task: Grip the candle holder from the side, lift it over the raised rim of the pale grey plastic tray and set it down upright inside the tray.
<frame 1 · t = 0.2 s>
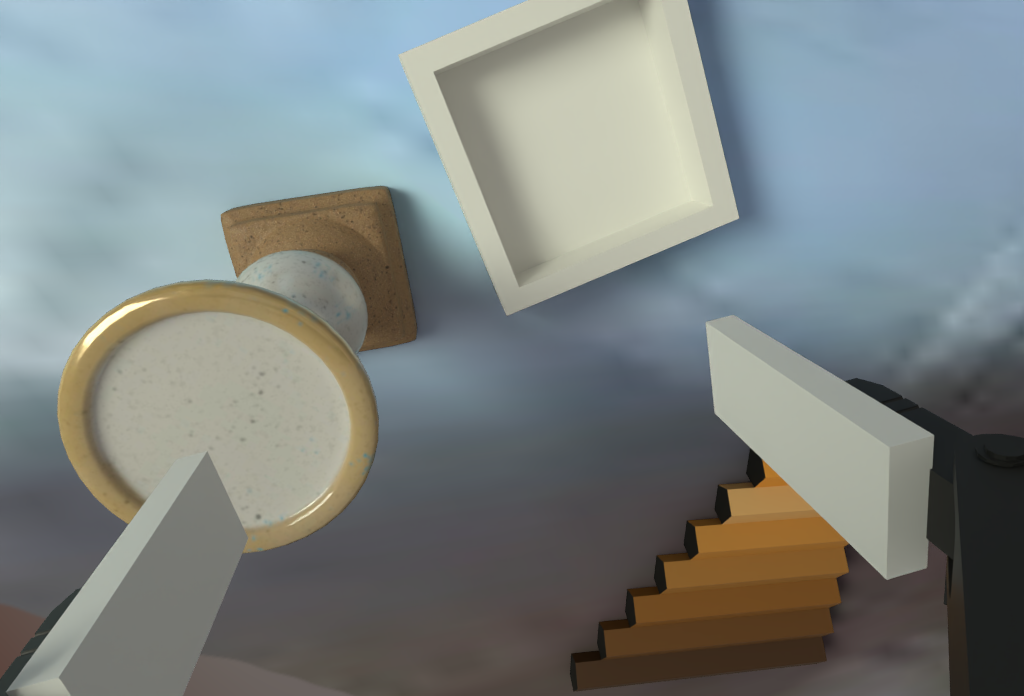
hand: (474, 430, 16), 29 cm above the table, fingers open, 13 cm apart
rimmed tray: (566, 142, 42), on the table
candle holder: (328, 273, 43), on the table
pan flute: (703, 557, 57), on the table
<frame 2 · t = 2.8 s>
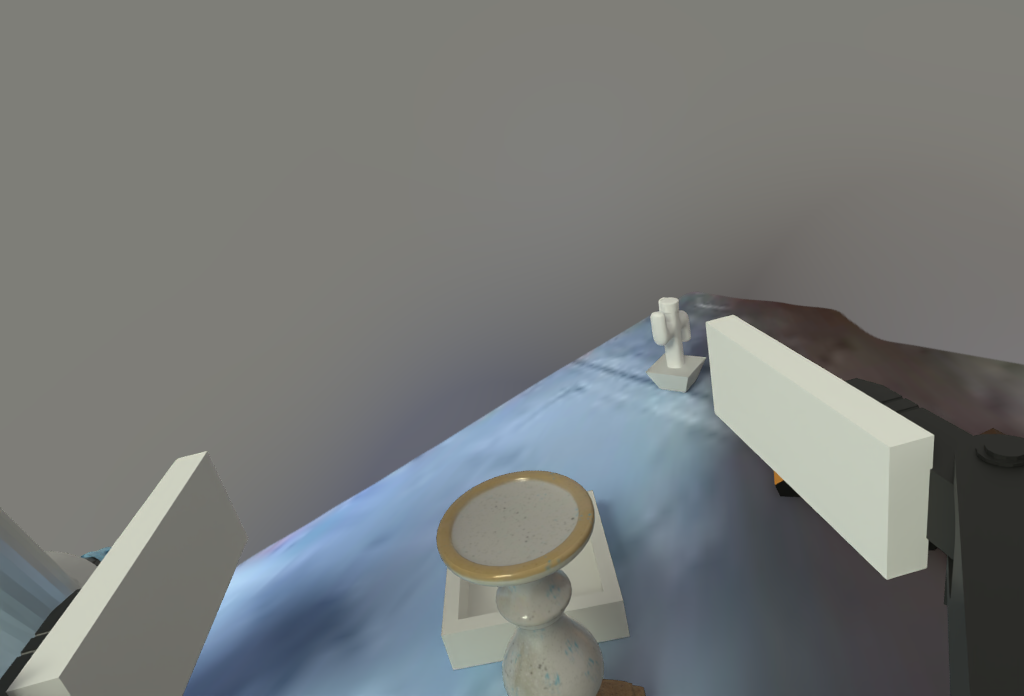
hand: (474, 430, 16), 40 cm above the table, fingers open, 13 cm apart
figurine: (678, 385, 99), on the table
rimmed tray: (534, 586, 64), on the table
pan flute: (906, 521, 63), on the table
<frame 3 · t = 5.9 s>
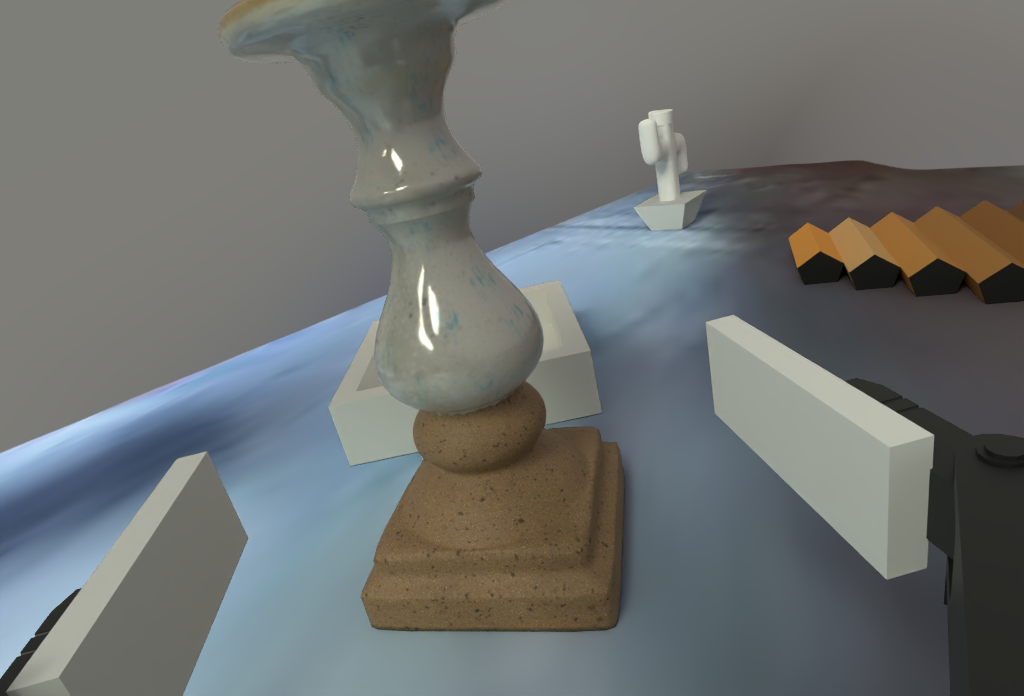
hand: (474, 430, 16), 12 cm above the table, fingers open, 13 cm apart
figurine: (673, 227, 82), on the table
rimmed tray: (476, 385, 47), on the table
candle holder: (512, 543, 30), on the table
pan flute: (981, 288, 46), on the table
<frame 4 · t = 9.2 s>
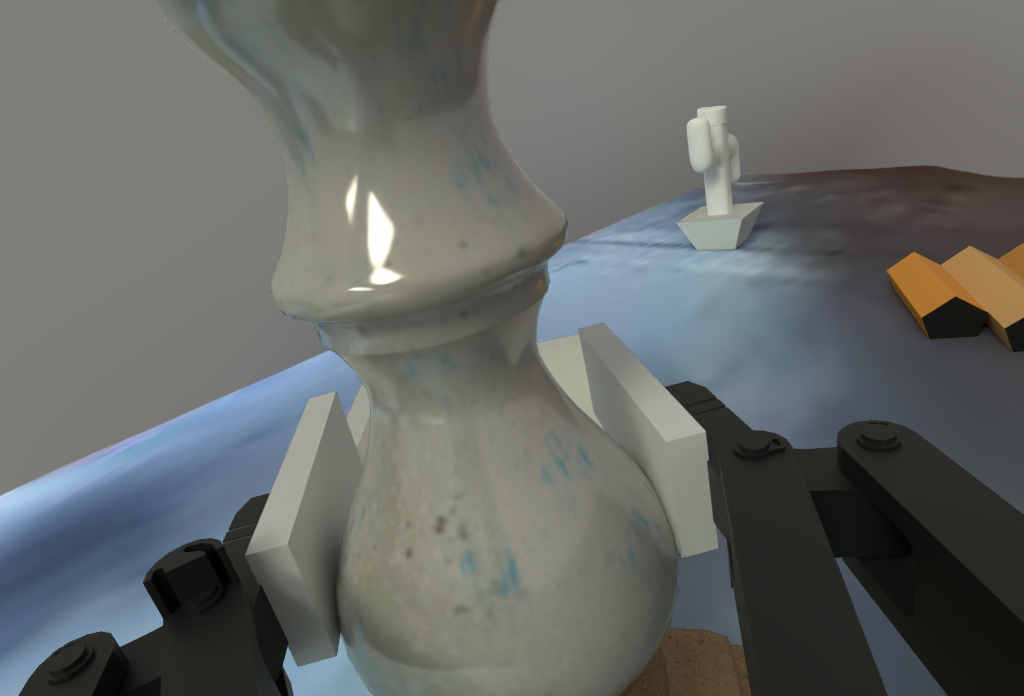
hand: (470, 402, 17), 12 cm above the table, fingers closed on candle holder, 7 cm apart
figurine: (723, 245, 69), on the table
rimmed tray: (501, 479, 35), on the table
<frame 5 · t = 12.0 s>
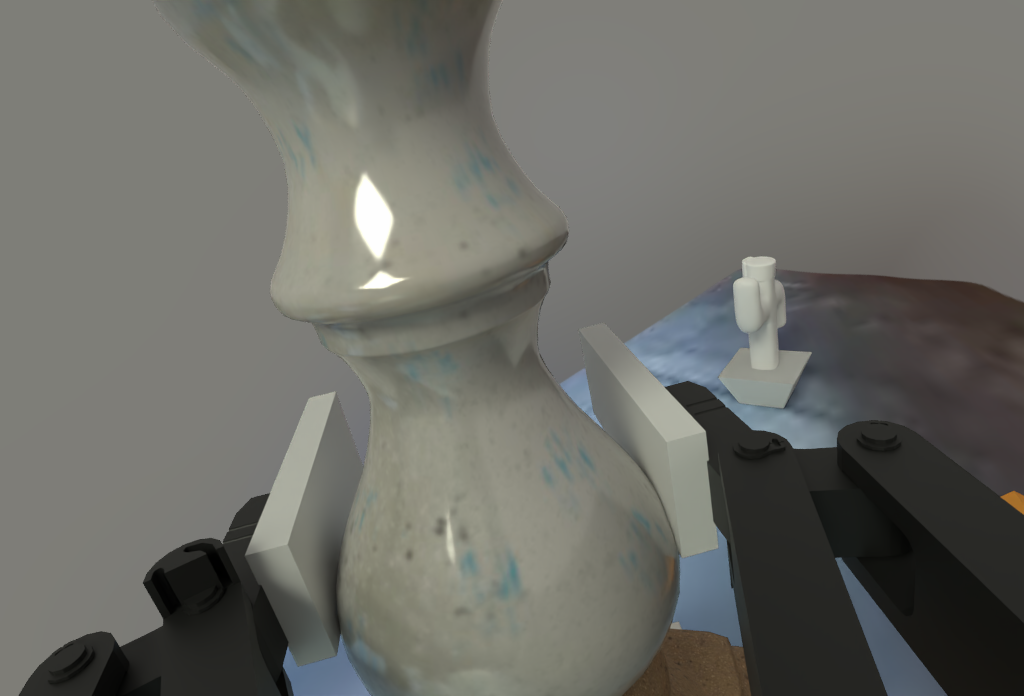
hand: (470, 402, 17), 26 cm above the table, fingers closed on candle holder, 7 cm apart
figurine: (767, 397, 63), on the table
when the fingers open (14 cm above the table, at t = 15.2 s): candle holder drops 1 cm, resting on rimmed tray.
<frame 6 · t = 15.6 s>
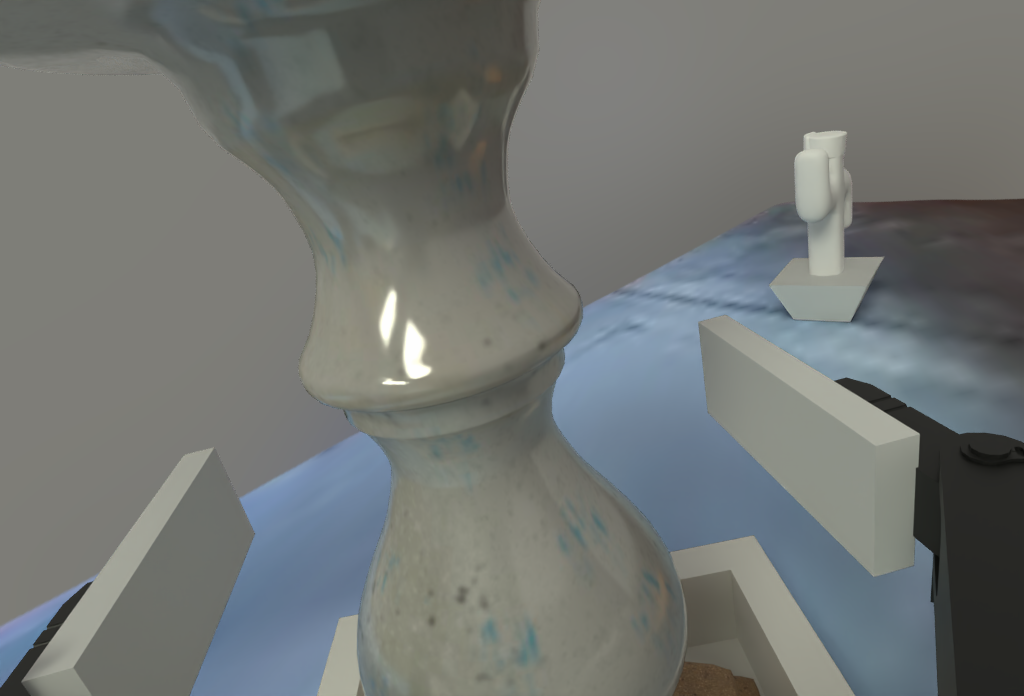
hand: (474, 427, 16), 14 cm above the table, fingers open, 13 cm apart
figurine: (827, 313, 52), on the table
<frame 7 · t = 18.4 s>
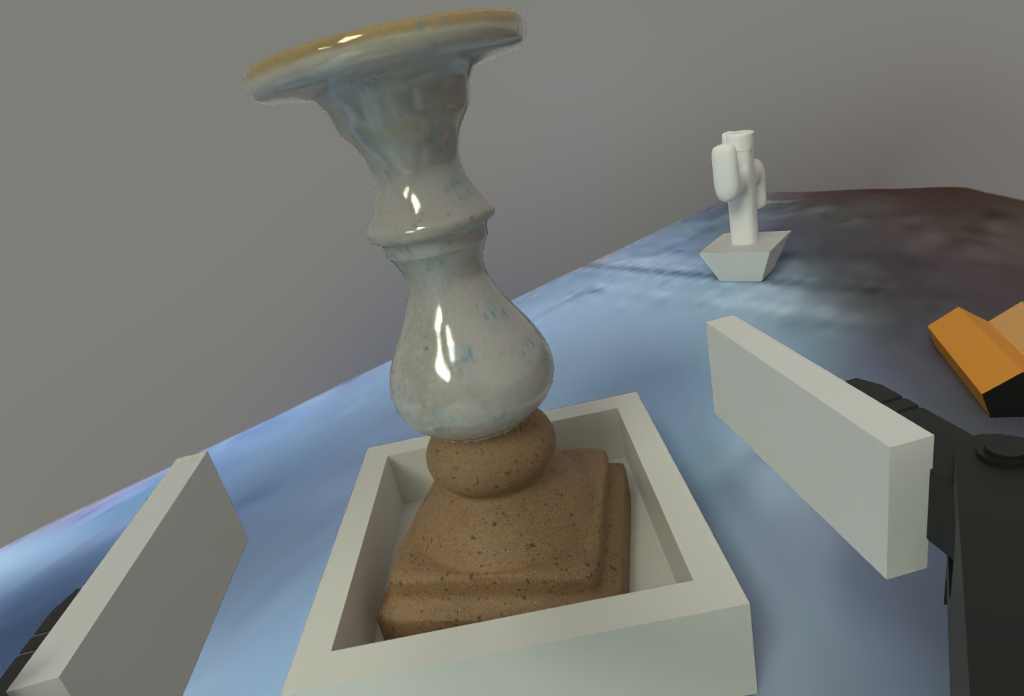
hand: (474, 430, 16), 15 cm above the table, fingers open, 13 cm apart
figurine: (747, 276, 65), on the table
rimmed tray: (523, 574, 31), on the table
candle holder: (521, 562, 30), point 1 cm above the table, touching rimmed tray
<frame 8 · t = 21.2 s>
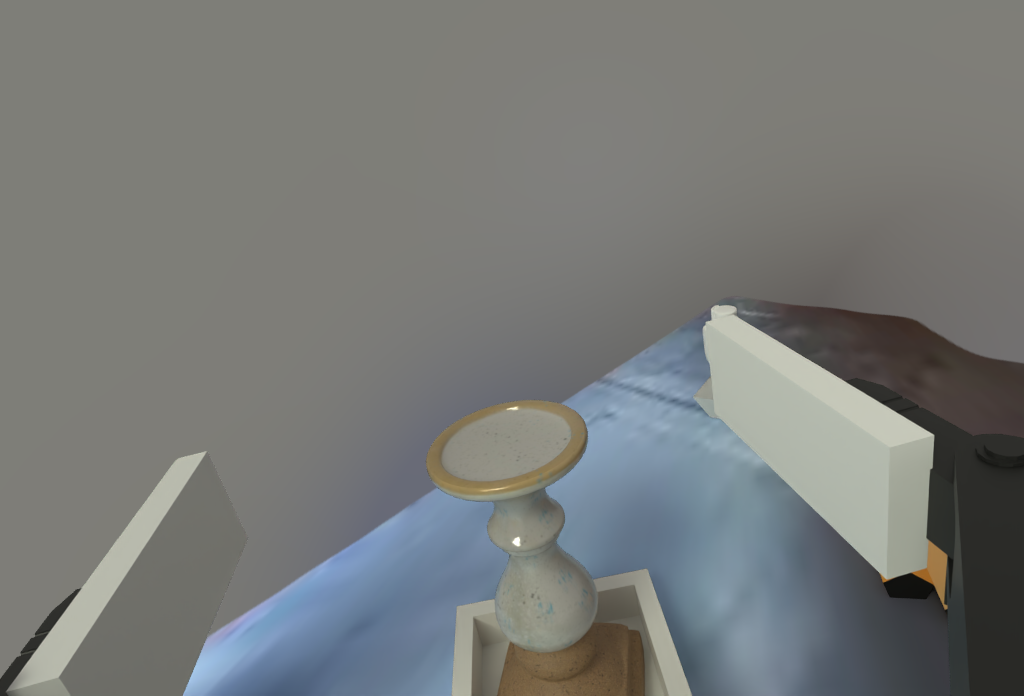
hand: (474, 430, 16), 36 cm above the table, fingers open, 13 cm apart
figurine: (732, 413, 81), on the table
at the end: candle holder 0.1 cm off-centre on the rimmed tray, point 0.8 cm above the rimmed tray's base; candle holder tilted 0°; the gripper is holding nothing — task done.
